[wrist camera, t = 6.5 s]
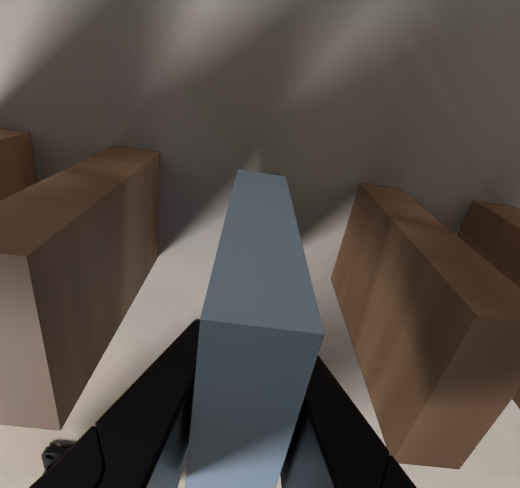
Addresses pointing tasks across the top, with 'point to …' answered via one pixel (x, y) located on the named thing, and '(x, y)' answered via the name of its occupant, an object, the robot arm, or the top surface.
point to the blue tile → (253, 341)
